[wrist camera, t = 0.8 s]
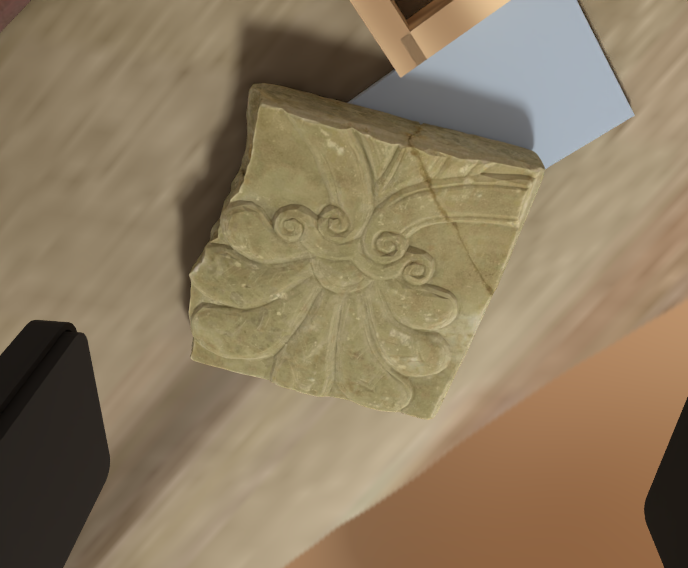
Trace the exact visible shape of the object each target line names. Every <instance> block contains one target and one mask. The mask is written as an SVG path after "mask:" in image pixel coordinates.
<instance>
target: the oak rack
mask: <svg viewBox="0 0 688 568" xmlns="http://www.w3.org/2000/svg"><path fill="white" fill-rule="evenodd" d="M350 1H351V3H352V4H353V6H354V8H355V9H356V11H357V12H358V14H359V15H360V17H361V18H362V20H363V21H364V23H365V24H366V26H367V27H368V29H369V30H370V32H371V33H372V35H373V36H374V38H375V40H376V41H377V43H378V44H379V46H380V47H381V49H382V50H383V52H384V53H385V55H386V56H387V58H388V59H389V61H390V62H391V64H392V65H393V67H394V68H395V70H396V72H397V73H398V75H399V76H400V78H401V77H403V76H404V75H405V74H407V73H408V72H410V71H411V70H413V69H414V68H415V67H417V66H418V65H420V64H421V63H423V62H424V61H425V60H427V59H428V58H430V57H431V56H432V55H434V54H435V53H437V52H438V51H440V50H441V49H442V48H444V47H445V46H447V45H448V44H449V43H451V42H452V41H454V40H455V39H457V38H458V37H459V36H461V35H462V34H464V33H465V32H467V31H468V30H469V29H471V28H472V27H474V26H475V25H476V24H478V23H479V22H481V21H482V20H484V19H485V18H486V17H488V16H489V15H491V14H492V13H493V12H495V11H496V10H498V9H499V8H501V7H502V6H503V5H505V4H506V3H508V2H509V1H511V0H433V1H432V2H430V3H429V4H428V5H426V6H425V7H424V8H422V9H421V10H419V11H418V12H417V13H415V14H414V15H413V16H411V17H410V18H409V19H407V20H406V19H405V17H404V15H403V14H402V12H401V11H400V9H399V7H398V6H397V4H396V3H395V1H394V0H350Z"/></svg>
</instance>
